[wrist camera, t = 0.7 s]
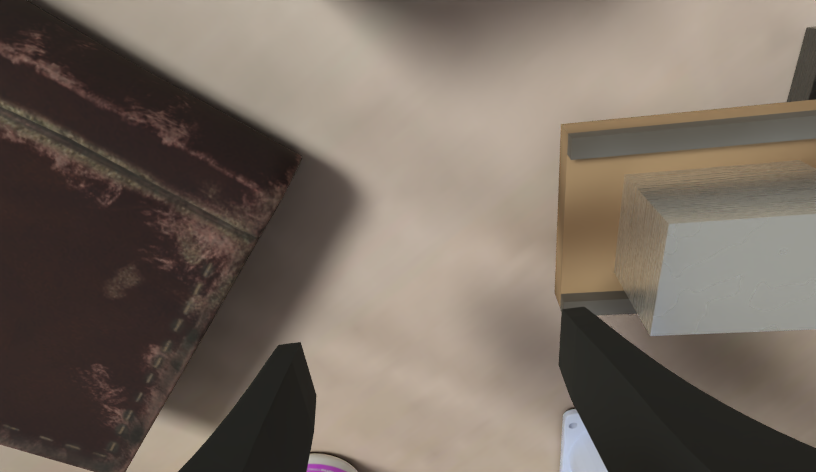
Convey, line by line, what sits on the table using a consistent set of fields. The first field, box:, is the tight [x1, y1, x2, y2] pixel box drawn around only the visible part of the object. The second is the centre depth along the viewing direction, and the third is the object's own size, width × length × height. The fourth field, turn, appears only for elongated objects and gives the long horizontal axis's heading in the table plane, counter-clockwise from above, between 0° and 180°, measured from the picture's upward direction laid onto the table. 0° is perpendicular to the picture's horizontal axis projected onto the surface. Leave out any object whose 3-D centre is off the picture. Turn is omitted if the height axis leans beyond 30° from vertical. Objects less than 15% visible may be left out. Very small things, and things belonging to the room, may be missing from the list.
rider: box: [614, 160, 816, 336], centre depth 16 cm, size 4×6×4 cm
